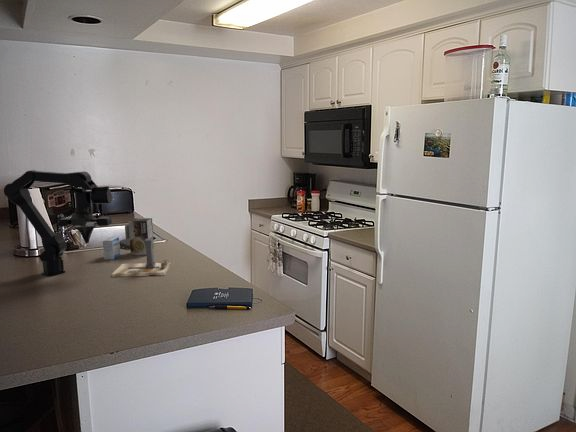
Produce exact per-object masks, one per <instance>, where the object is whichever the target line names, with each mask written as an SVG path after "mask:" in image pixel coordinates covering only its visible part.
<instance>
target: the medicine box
mask: <svg viewBox="0 0 576 432" xmlns="http://www.w3.org/2000/svg"><path fill="white" fill-rule="evenodd" d="M119 241H120V237H119V236H110V237H108V238H107V239H105V240H102V249H103V258H104V260H107V261H108V260H116V259H117V258H119V257H120V256H121V247H120V243H119Z"/></svg>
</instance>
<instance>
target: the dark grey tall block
mask: <svg viewBox="0 0 576 432" xmlns="http://www.w3.org/2000/svg"><path fill="white" fill-rule="evenodd" d="M153 241H154V237H153V238H147V239H146V240H145V244H146V255H145V256H146V263H147V264H146V268H154V266H155V263H156V262H155V261H154V260H155V258H154V252H153Z"/></svg>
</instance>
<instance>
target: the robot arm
mask: <svg viewBox="0 0 576 432" xmlns="http://www.w3.org/2000/svg"><path fill="white" fill-rule="evenodd" d="M35 182H43V183H54V184H55V183H56V184H57V183H58V184H64V185H67V186H70V187H72V188H71V189H70V190H68V193H69V194H74V202H75V207H74V213H72V216H71V217H62V218H60V219H58V221H57V227H58V228H66V227H68V226H69V225H72V227H73V229H74V230H75V229H76V230H77V231H78V232H79V233H80V236H81V237H82V239H83V241H84V244H90V240H91V236H92V233H93V231H94V228H96V227H97V226H98V227H107V226H110V225H111V224H112V222H113V221H112V218H111V216H100V217H98V218H94V215H93V208H94V206H93V204H92V203H94V204H95V205H101V204H102V205H108V204H112V200H113V194H112V191H111V189H110V186H109V185H105V186H98V185H97V184H96V183H95V182H94V180H93V178H92V176H91V174H90V173H89V172H87V171H73V172H56V171H55V172H54V171H43V170H42V171H40V170H35V169H34V170H33V169H32V170H27V171H26V172H25V173H23V174H22V175H20V176H19V177H18V178H16V179H15V180H13V181H12V182H10V183H8V184H6V185H5V186H4V187H3V194H4V196H5V197H6V198H8V200H9V201H10V202H11V203H13V204H15V205H16V206H17V207H18V208H20V210H21V212H22V213H23V214H24V216H25V217H26V218H27V220H28V222H30V224H31V225H32V227H33V228H34V229H35V231H36V233H37V234H38V235H39V237H40V239H41V244H42V247H43V250H44V251H42V253H41V254H39V256H38V258H39V260H40V262H42V263H41V264H42V272H41V273H40V274H41V275H45V276H48V277H53V276H56V275H59V274H60V275H61V274H64V273H66V270H65V269H64V260H63V253H64V252H65V251H66V250H67V246H68V245H67V239H66V238H64V237H63V234H62V233H61V232H58V233H56V232H54V231H53V230H52V228H51V226H50V225H49V224H48V223H47V221H46V220H45V218H44V217H43V215H42V214H41V213H40V211H39V210H38V209H37V207H36V205H35V204H34V202H33V201H32V198H31V193H30V190H29V189H30V188H31V187H32V186H33V185H34V184H35Z"/></svg>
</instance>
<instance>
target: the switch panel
mask: <svg viewBox="0 0 576 432" xmlns="http://www.w3.org/2000/svg"><path fill="white" fill-rule="evenodd" d="M154 263H155V266H154V268H146V264H147V262H146V263H145V262H143V263H141V262H140V263H122V264H120V265H119V266H118V268H116V269H115V270H114V271H113V272H112V273H111V277H112V278H115V277H118V278H120V277H121V278H122V277H150V276H149V275H156V276H166V274H167V273H168V271H169V270H170V268H171V266H172V262H167V259H163V260H162V261H161V262H154ZM166 272H167V273H166Z"/></svg>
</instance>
